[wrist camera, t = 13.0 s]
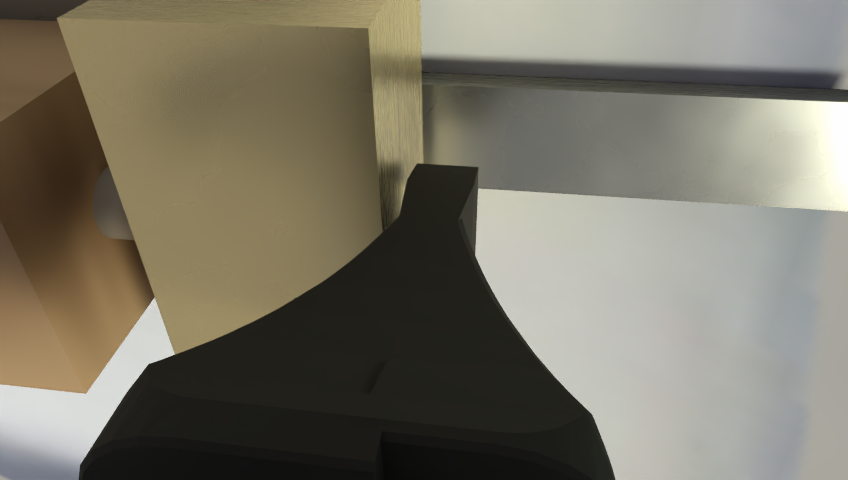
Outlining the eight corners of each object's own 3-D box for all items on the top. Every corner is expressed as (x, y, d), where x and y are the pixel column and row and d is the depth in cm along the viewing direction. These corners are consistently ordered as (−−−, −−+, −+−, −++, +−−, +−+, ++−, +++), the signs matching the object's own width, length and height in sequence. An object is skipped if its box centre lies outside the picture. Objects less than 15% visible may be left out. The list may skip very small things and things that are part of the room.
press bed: (825, 311, 16) (879, 417, 13) (6, 245, 19) (-78, 323, 16) (1020, -98, 11) (1173, -52, 8) (-170, -106, 13) (-338, -72, 11)
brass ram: (426, 304, 16) (397, 444, 12) (266, 290, 16) (199, 422, 13) (418, -53, 11) (368, 27, 8) (192, -57, 11) (56, 17, 8)
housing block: (260, 236, 15) (164, 402, 12) (12, 217, 16) (-158, 366, 12) (217, 25, 12) (66, 153, 9) (-84, 16, 13) (-350, 128, 9)
